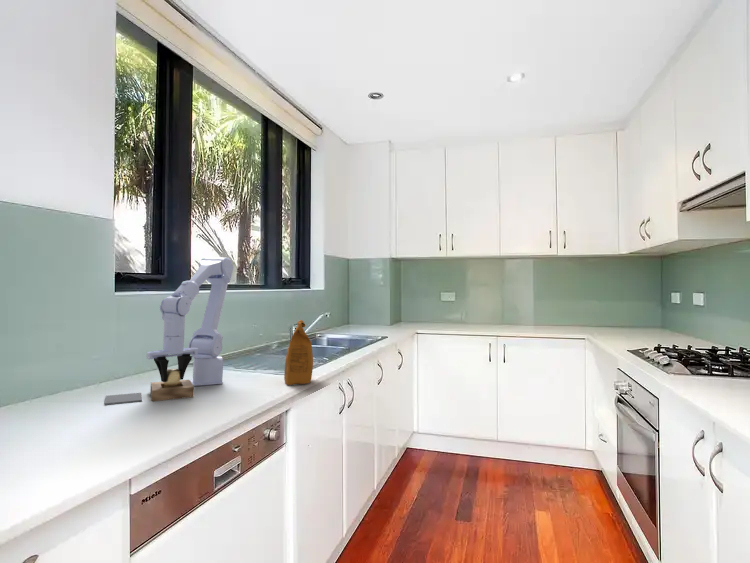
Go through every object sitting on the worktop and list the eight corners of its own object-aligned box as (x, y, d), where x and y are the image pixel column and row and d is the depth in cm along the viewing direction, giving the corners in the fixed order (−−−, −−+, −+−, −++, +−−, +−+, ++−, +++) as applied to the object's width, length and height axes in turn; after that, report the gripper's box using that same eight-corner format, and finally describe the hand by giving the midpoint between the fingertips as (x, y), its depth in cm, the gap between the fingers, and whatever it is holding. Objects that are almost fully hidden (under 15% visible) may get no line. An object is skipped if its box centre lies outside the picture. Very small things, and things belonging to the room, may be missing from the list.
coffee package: (312, 378, 156) (314, 319, 156) (312, 386, 144) (314, 322, 144) (285, 378, 154) (287, 319, 155) (283, 386, 142) (285, 322, 142)
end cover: (178, 390, 130) (179, 367, 130) (180, 394, 126) (181, 370, 126) (163, 392, 128) (164, 368, 128) (164, 395, 124) (165, 371, 124)
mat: (141, 393, 127) (141, 392, 127) (141, 401, 119) (142, 399, 119) (106, 397, 122) (106, 395, 122) (104, 405, 115) (104, 403, 115)
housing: (188, 388, 135) (189, 379, 135) (193, 397, 125) (193, 387, 125) (150, 392, 129) (150, 382, 129) (152, 401, 120) (152, 390, 120)
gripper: (191, 332, 135) (189, 374, 135) (143, 335, 124) (141, 381, 124) (201, 335, 131) (200, 378, 130) (152, 338, 120) (151, 385, 120)
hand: (172, 380), depth 127 cm, fingers closed on end cover, 4 cm apart
